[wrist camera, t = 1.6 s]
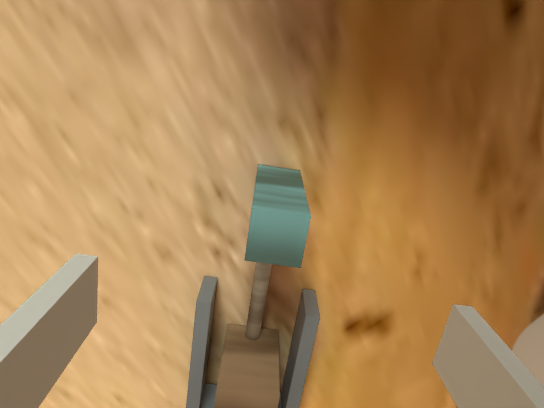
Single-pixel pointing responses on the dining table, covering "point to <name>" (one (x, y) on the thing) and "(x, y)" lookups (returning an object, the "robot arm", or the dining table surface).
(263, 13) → the dining table surface
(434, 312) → the dining table surface
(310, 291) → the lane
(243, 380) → the tethered block
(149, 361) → the dining table surface
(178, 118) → the dining table surface
